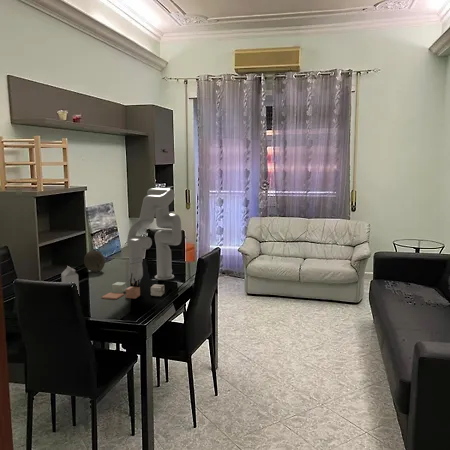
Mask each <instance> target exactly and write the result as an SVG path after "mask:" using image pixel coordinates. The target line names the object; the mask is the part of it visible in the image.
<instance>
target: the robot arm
mask: <svg viewBox="0 0 450 450" xmlns="http://www.w3.org/2000/svg"><path fill="white" fill-rule="evenodd" d="M175 197H176V196H175V191H174V190H173V188H169V187H167V188H166V187H165V188H164V187H154V188H153V187H151V188H149V189H148V190H147V193H146V195H145V197H143V200H142V205H141V210H140V213H139V218H138V219H137V220H136V221H135V222H134V223H133V224H132V225H131V226H130V229H129V230H128V235H127V241H126V244H127V247H128V263H129V265H128V281H131V284H132V285H133V287H140V288H141V280H142V278H143V276H144V268H143V250H144V251H145V250H149V249H150V248H151V246H152V245H153V240H152V238H151V237H150V236H143V235H137V233H138V232H139V230H141V229H143V228H144V227H146V226H148V225H150V224H151V225H152V224H153V223H154V221H155V223H156V226H157V228H159V230H157V231H156V232H155V233H154V242H155V247H156V275H154V279H155V280H161V281H165V280H166V281H167V280H173V279H174V278H175V275H174V274H172V273H173V269H172V249H171V248H170V246H179V245H181V243H182V240H183V239H182V237H183V236H182V220H181V219H182V218H181V217H180V215H178V214H177V213H170V209H169V208H170V207H169V205H170V204H171V203H172V202H173V201H174V199H175ZM169 229H170V230H169Z"/></svg>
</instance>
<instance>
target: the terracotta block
mask: <svg viewBox="0 0 450 450" xmlns="http://www.w3.org/2000/svg"><path fill="white" fill-rule="evenodd" d="M124 293H125V298H126V299H137V298H139V297H140V296H141V286H140V287H134V286H128V287H127V289H125V292H124Z"/></svg>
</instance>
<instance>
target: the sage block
mask: <svg viewBox="0 0 450 450" xmlns="http://www.w3.org/2000/svg"><path fill="white" fill-rule="evenodd" d="M127 288H128V286H127V282H122V281H116V282H115V283H112V284H111V289H112V290H111V291H112V292H111V293H126V292H125V289H127Z"/></svg>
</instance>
